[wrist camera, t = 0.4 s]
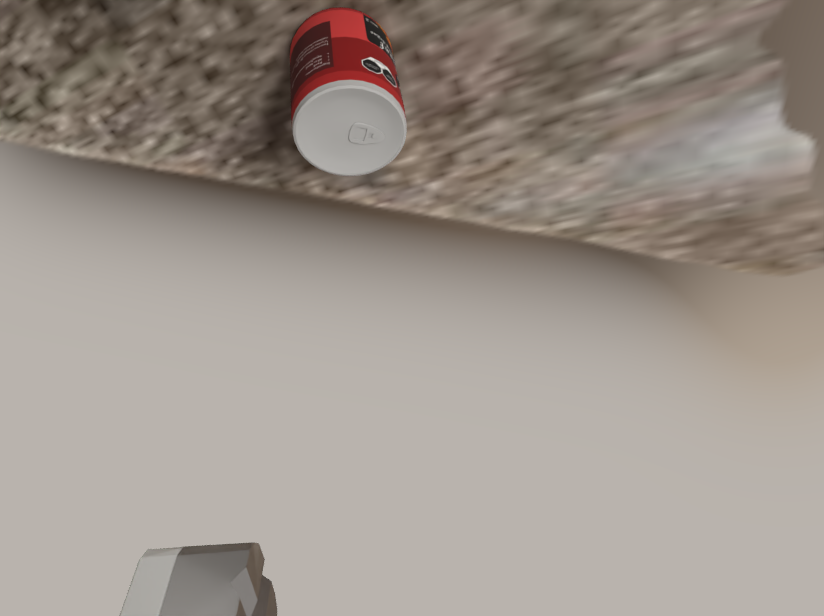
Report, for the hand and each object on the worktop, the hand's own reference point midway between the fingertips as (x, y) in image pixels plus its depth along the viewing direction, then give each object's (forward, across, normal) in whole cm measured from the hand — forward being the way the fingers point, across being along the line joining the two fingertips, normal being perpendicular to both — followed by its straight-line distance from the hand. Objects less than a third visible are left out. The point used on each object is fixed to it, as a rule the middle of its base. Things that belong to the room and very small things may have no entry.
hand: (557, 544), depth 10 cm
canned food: (+55, +7, +6) cm, 56 cm away
